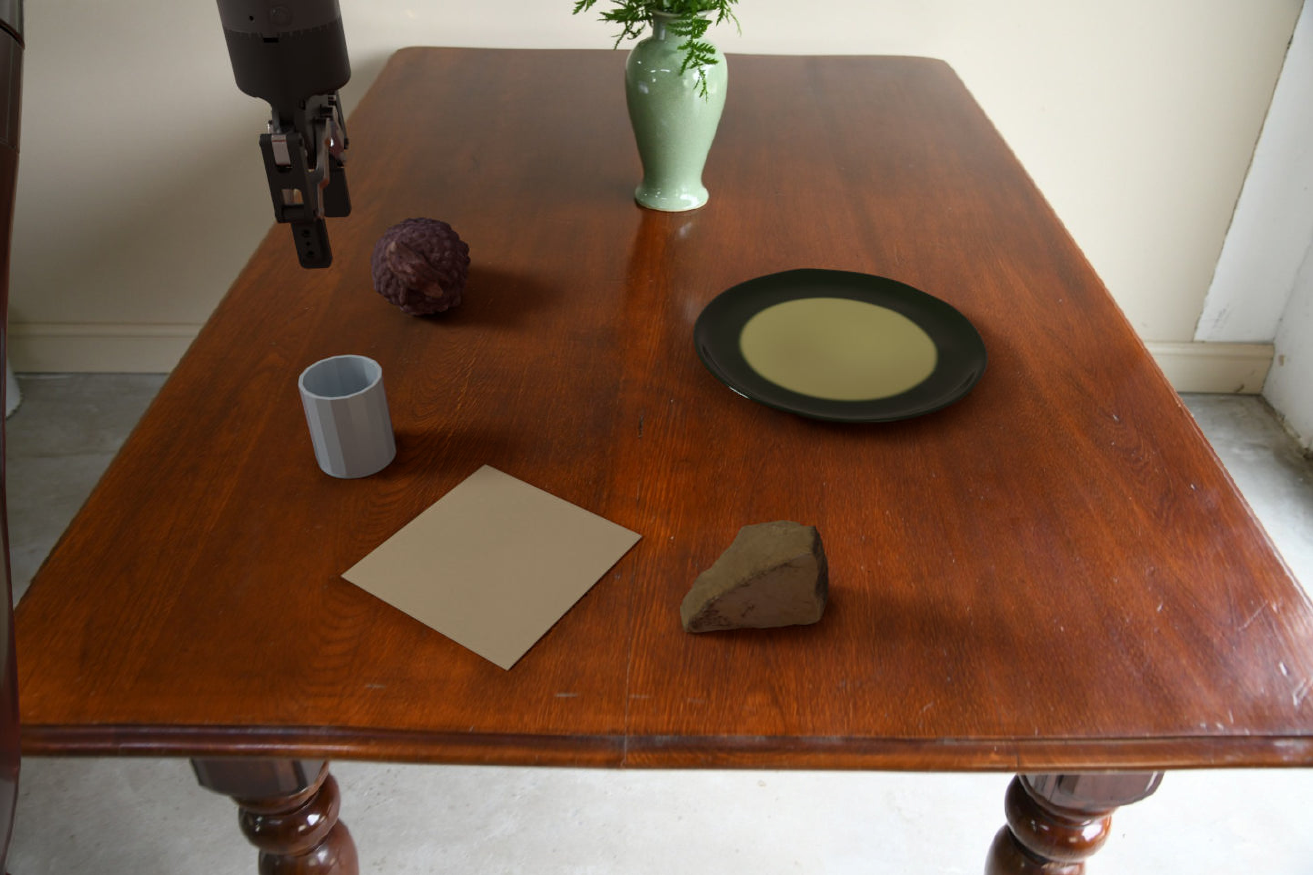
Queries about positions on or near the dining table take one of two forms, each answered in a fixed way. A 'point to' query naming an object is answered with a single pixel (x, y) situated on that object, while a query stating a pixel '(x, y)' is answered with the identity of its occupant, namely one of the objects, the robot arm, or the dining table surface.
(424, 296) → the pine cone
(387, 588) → the mat
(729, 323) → the plate
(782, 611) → the rock
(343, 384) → the cup
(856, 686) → the dining table surface
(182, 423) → the dining table surface
